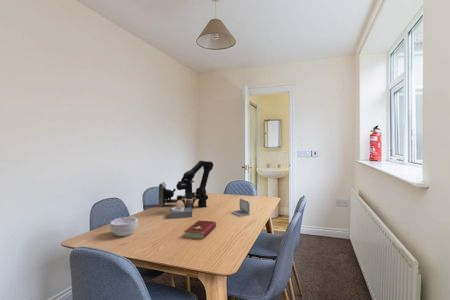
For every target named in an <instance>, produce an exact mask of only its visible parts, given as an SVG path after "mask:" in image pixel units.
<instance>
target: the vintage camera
mask: <svg viewBox="0 0 450 300" xmlns="http://www.w3.org/2000/svg"><path fill="white" fill-rule="evenodd" d="M166 185H167V184H166V182H165V181H164V182H163V181H162V182H161V183H159V185H158V207H163V206H164V205H165V204H171V203H173V204H174V203H175V204H177V203H178V202H179V200H177V199H173V198H174V195H175V192H176V189H177V188H173V189H172V190H171V189H168V188H166V187H167V186H166Z"/></svg>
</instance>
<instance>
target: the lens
mask: <svg viewBox="0 0 450 300" xmlns="http://www.w3.org/2000/svg"><path fill="white" fill-rule="evenodd" d="M185 204H186V208H190V207H191V210H192V211H193V208H192V199H188V200H187V199H185Z"/></svg>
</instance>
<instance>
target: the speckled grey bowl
mask: <svg viewBox="0 0 450 300" xmlns="http://www.w3.org/2000/svg"><path fill="white" fill-rule="evenodd" d="M138 225H139V220H138V218H137V217H135V216H122V217H118V218H114V219H113V220H111V221H110V222H109V227H110V228H109V229H110V232H111V233H113V234H114V235H115V236H118V237H126V236H129V235H132V234H133V233H134V232H135V230H136V229H138V228H139V227H138Z"/></svg>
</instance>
